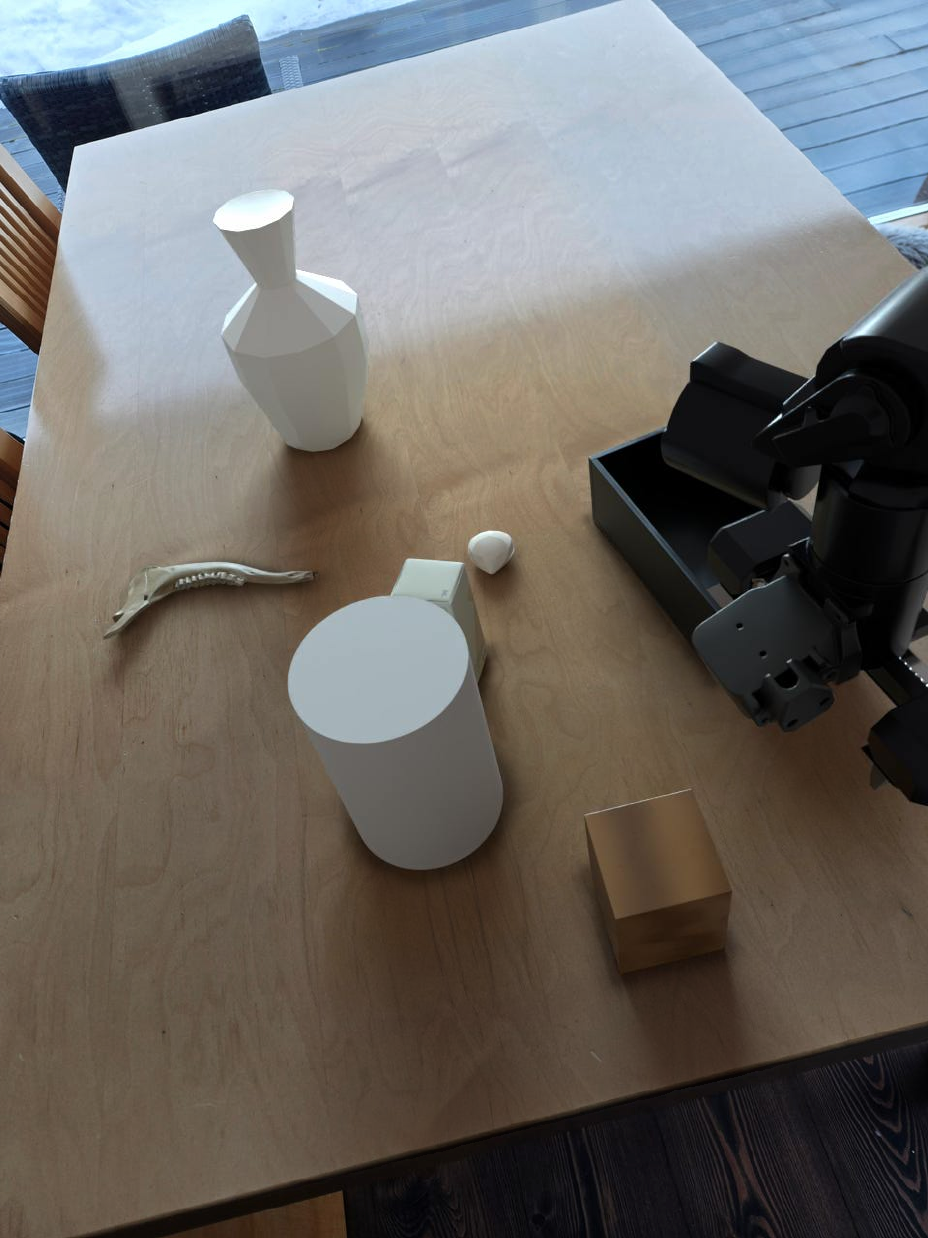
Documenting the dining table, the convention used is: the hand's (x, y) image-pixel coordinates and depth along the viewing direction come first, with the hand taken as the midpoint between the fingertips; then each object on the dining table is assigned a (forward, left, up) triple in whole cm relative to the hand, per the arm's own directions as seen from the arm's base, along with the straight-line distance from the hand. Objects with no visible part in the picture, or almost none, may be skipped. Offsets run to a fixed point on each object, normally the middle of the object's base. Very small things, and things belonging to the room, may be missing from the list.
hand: (828, 724), depth 55 cm
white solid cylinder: (+26, +8, -13) cm, 30 cm away
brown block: (+9, -17, -12) cm, 23 cm away
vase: (+59, -29, -13) cm, 67 cm away
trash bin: (+14, -21, -13) cm, 29 cm away
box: (+30, -4, -13) cm, 33 cm away
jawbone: (+55, -2, -13) cm, 57 cm away
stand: (+7, +10, -13) cm, 18 cm away
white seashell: (+32, -16, -13) cm, 38 cm away
